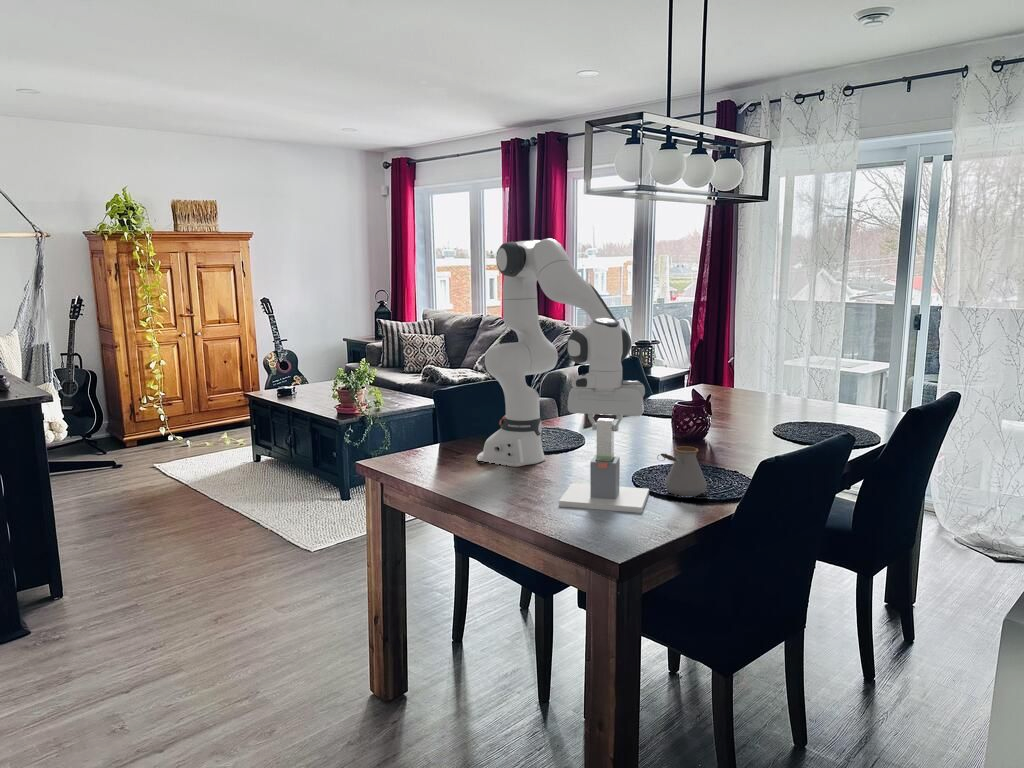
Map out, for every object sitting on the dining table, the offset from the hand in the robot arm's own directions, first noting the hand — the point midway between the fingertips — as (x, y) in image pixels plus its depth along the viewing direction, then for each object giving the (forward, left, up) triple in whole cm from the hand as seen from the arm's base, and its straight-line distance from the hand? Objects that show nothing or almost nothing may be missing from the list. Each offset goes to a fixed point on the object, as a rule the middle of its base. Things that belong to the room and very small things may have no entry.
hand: (605, 430), depth 197 cm
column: (0, 0, -13) cm, 13 cm away
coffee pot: (+19, +6, -20) cm, 28 cm away
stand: (0, 0, -20) cm, 20 cm away
